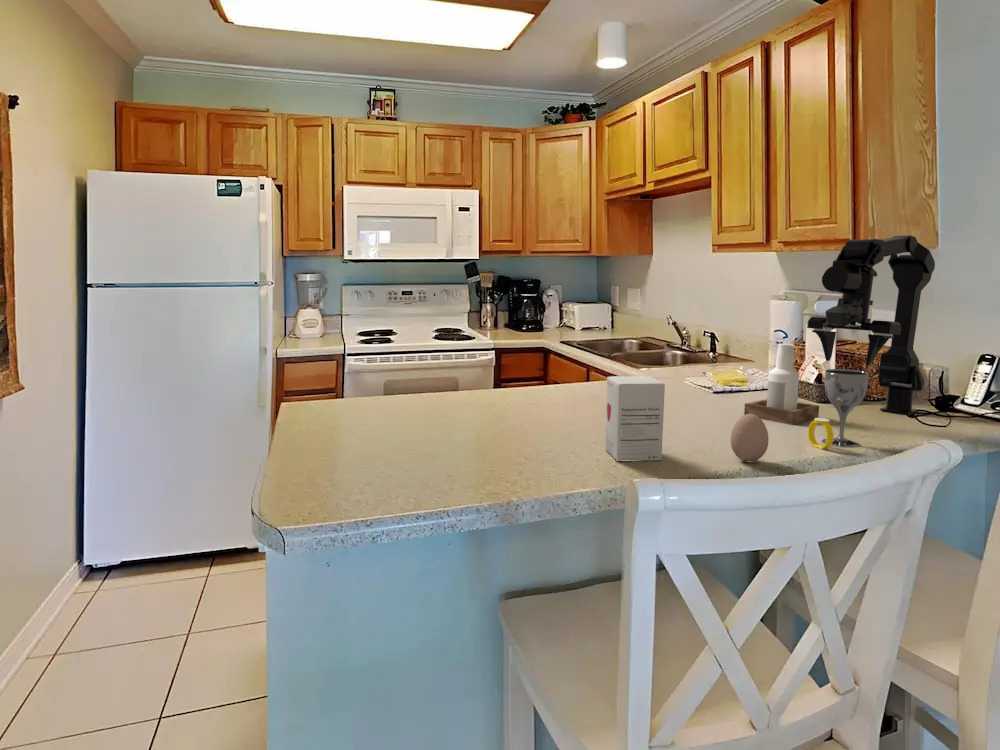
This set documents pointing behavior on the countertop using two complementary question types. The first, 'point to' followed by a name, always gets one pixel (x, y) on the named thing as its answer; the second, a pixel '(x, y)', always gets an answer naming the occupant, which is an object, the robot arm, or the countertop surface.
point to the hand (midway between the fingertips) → (847, 363)
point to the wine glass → (845, 397)
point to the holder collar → (782, 412)
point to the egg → (749, 438)
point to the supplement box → (634, 417)
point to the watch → (828, 430)
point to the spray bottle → (783, 380)
